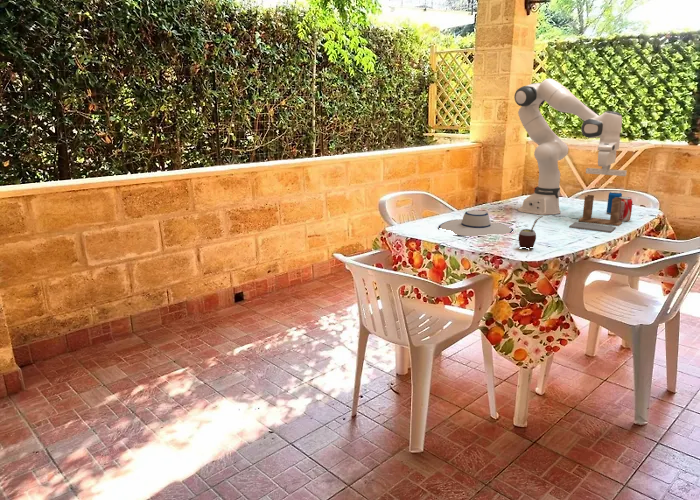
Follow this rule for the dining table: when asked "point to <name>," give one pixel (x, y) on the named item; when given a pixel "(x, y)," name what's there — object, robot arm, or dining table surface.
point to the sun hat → (475, 225)
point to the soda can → (625, 209)
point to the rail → (609, 172)
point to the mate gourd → (527, 237)
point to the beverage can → (611, 197)
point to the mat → (592, 227)
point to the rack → (588, 218)
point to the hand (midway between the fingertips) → (605, 173)
